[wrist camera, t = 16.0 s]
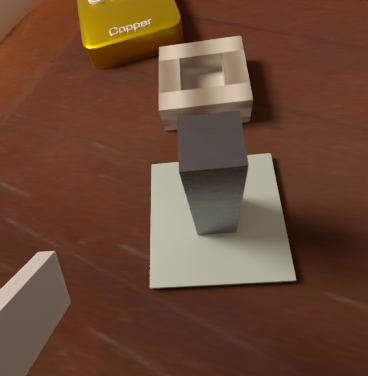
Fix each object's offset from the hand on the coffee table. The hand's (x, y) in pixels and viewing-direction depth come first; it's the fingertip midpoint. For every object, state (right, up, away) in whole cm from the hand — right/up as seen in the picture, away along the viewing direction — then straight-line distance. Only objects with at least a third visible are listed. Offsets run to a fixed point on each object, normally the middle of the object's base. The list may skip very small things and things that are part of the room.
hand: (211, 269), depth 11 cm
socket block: (+2, +16, +26) cm, 31 cm away
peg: (+2, 0, +18) cm, 18 cm away
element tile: (-10, +30, +35) cm, 47 cm away
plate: (+2, 0, +19) cm, 19 cm away
